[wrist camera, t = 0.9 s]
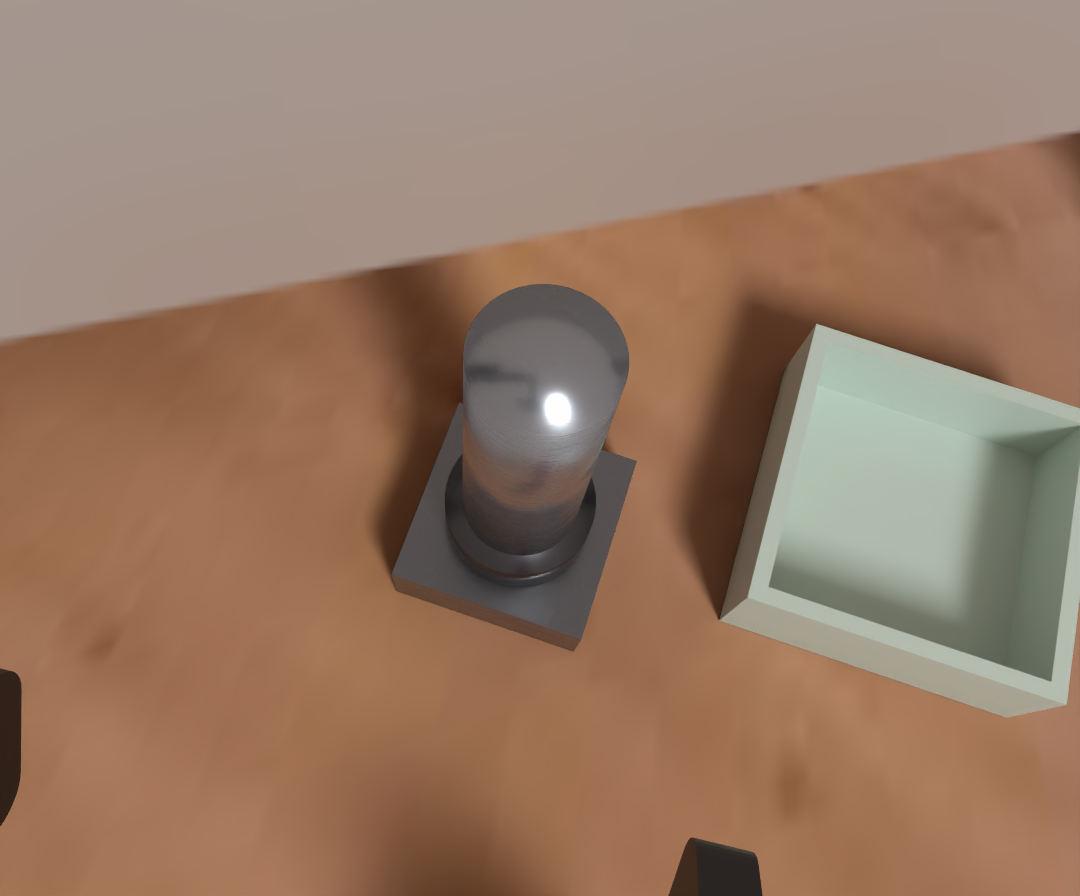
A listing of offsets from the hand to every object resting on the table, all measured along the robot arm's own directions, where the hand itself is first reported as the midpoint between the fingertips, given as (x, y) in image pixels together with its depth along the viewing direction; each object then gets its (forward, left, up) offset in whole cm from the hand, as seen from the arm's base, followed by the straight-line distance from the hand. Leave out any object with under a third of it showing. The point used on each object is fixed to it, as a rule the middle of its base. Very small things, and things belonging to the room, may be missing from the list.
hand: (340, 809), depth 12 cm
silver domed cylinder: (0, +11, -22) cm, 25 cm away
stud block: (0, +11, -25) cm, 27 cm away
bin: (+14, +16, -25) cm, 32 cm away
